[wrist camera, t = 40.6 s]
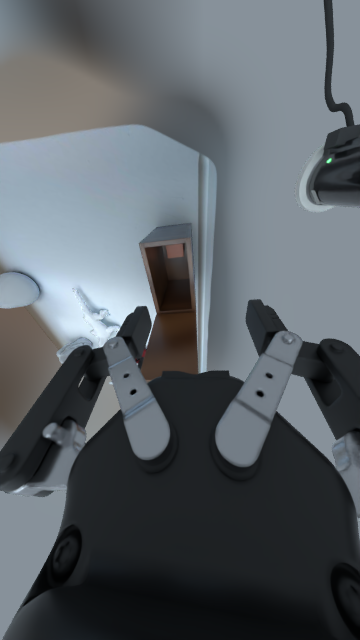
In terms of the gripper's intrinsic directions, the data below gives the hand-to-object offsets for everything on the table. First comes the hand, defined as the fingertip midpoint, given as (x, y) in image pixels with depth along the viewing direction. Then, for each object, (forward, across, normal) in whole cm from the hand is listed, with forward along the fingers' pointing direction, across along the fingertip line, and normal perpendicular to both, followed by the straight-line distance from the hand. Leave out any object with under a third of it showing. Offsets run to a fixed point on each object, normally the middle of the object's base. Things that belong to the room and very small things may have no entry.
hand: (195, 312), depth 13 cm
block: (+33, +5, +2) cm, 34 cm away
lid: (+9, +5, +12) cm, 16 cm away
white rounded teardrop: (+33, +56, +9) cm, 65 cm away
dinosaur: (+34, +36, +23) cm, 55 cm away
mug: (+33, +50, +36) cm, 70 cm away
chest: (+34, +5, +5) cm, 35 cm away
